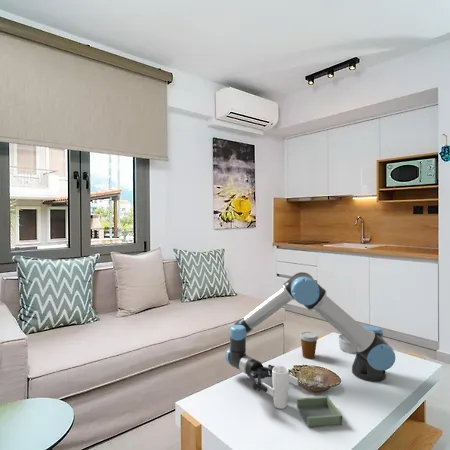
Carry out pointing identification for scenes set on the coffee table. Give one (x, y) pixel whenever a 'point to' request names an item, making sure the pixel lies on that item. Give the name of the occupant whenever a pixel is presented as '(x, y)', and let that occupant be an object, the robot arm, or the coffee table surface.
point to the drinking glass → (280, 386)
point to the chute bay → (319, 412)
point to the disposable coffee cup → (308, 344)
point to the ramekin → (346, 344)
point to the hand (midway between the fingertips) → (286, 387)
